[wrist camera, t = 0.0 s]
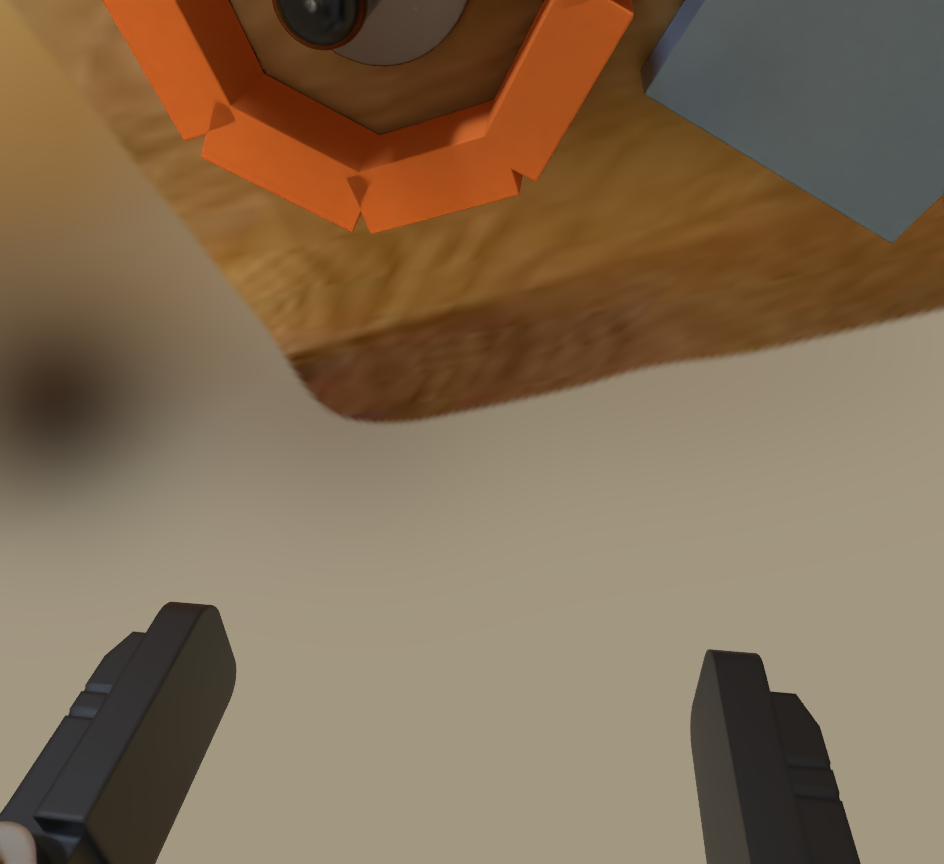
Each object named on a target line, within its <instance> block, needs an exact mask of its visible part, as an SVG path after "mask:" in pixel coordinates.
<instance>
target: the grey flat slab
mask: <svg viewBox="0 0 944 864" xmlns="http://www.w3.org/2000/svg"><path fill="white" fill-rule="evenodd" d="M641 76H642V82H643V89H644V94H645V95H646V96H648V97H650V98H651V99H653V100H655V101H656V102H658V103H660V104H661V105H663V106H665V107H666V108H668V109H670V110H671V111H673V112H675V113H676V114H678V115H680V116H681V117H683V118H685V119H686V120H688V121H689V122H691V123H693V124H694V125H696V126H698V127H699V128H701V129H703V130H704V131H706V132H708V133H709V134H711V135H713V136H714V137H716V138H718V139H719V140H721V141H723V142H724V143H726V144H728V145H729V146H731V147H733V148H734V149H736V150H738V151H739V152H741V153H743V154H744V155H746V156H748V157H749V158H751V159H753V160H754V161H756V162H758V163H759V164H761V165H762V166H764V167H766V168H767V169H769V170H771V171H772V172H774V173H776V174H777V175H779V176H781V177H782V178H784V179H786V180H787V181H789V182H791V183H792V184H794V185H796V186H797V187H799V188H801V189H802V190H804V191H806V192H807V193H809V194H811V195H812V196H814V197H816V198H817V199H819V200H821V201H822V202H824V203H826V204H827V205H829V206H831V207H832V208H834V209H835V210H837V211H839V212H840V213H842V214H844V215H845V216H847V217H849V218H850V219H852V220H854V221H855V222H857V223H859V224H860V225H862V226H864V227H865V228H867V229H869V230H870V231H872V232H874V233H875V234H877V235H879V236H880V237H882V238H884V239H885V240H887V241H889V242H890V243H893V242H894V241H895V240H896V239H897V238H898V237H899V236H900V235H901V234H902V233H903V232H904V231H905V230H906V229H907V228H908V227H909V226H910V225H911V224H912V223H913V222H915V221H916V220H917V219H918V218H919V217H920V216H921V215H922V214H923V213H924V212H925V211H926V210H927V209H928V208H929V207H930V206H931V205H932V204H933V203H934V202H935V201H936V200H937V199H938V198H940V197H941V196H942V195H943V194H944V0H685V1H684V2H683V4H682V6H681V7H680V9H679V10H678V12H677V14H676V15H675V17H674V18H673V20H672V21H671V23H670V25H669V26H668V28H667V29H666V31H665V33H664V34H663V36H662V37H661V39H660V41H659V42H658V44H657V45H656V47H655V49H654V50H653V52H652V53H651V55H650V57H649V58H648V60H647V61H646V63H645V64H644V66H643V68H642V69H641Z"/></svg>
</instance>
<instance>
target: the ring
mask: <svg viewBox="0 0 944 864" xmlns="http://www.w3.org/2000/svg"><path fill="white" fill-rule="evenodd" d="M102 1H103V3H104V4H105V6H106V8H107V9H108V11H109V13H110V15H111V16H112V18H113V20H114V21H115V23H116V25H117V27H118V28H119V30H120V32H121V33H122V35H123V37H124V39H125V40H126V42H127V44H128V45H129V47H130V49H131V51H132V52H133V54H134V56H135V57H136V59H137V61H138V63H139V64H140V66H141V68H142V69H143V71H144V73H145V75H146V76H147V78H148V80H149V81H150V83H151V85H152V87H153V88H154V90H155V92H156V93H157V95H158V97H159V99H160V100H161V102H162V104H163V105H164V107H165V109H166V110H167V112H168V114H169V116H170V117H171V119H172V121H173V122H174V124H175V126H176V128H177V129H178V131H179V133H180V134H181V136H182V138H183V140H184V141H187V140H190V139H193V138H195V137H198V136H201V135H204V134H206V138H205V142H204V147H203V151H202V156H201V157H202V158H204V159H206V160H208V161H210V162H212V163H214V164H216V165H218V166H220V167H222V168H224V169H226V170H228V171H230V172H232V173H234V174H236V175H238V176H240V177H242V178H244V179H246V180H248V181H250V182H252V183H254V184H256V185H258V186H260V187H262V188H264V189H266V190H268V191H270V192H272V193H274V194H276V195H278V196H280V197H282V198H284V199H286V200H288V201H290V202H292V203H294V204H296V205H298V206H300V207H302V208H304V209H306V210H308V211H310V212H312V213H314V214H316V215H318V216H320V217H323V218H325V219H327V220H329V221H331V222H333V223H335V224H337V225H339V226H341V227H343V228H345V229H347V230H349V231H351V232H352V231H353V229H354V227H355V225H356V223H357V221H358V219H359V217H360V215H361V213H362V216H363V218H364V220H365V222H366V224H367V227H368V229H369V231H370V233H371V234H373V233H377V232H381V231H384V230H388V229H392V228H396V227H400V226H403V225H407V224H411V223H415V222H418V221H422V220H426V219H430V218H433V217H437V216H441V215H445V214H448V213H452V212H456V211H460V210H464V209H467V208H471V207H475V206H479V205H482V204H486V203H490V202H494V201H497V200H501V199H505V198H509V197H512V196H516V195H519V192H520V186H521V180H522V175H524V176H525V177H527V178H529V179H531V180H533V181H535V182H536V181H537V180H538V178H539V176H540V175H541V173H542V171H543V170H544V168H545V166H546V165H547V163H548V161H549V159H550V158H551V156H552V154H553V153H554V151H555V149H556V148H557V146H558V144H559V143H560V141H561V139H562V137H563V136H564V134H565V132H566V131H567V129H568V127H569V126H570V124H571V122H572V121H573V119H574V117H575V115H576V114H577V112H578V110H579V109H580V107H581V105H582V104H583V102H584V100H585V99H586V97H587V95H588V93H589V92H590V90H591V88H592V87H593V85H594V83H595V82H596V80H597V78H598V77H599V75H600V73H601V71H602V70H603V68H604V66H605V65H606V63H607V61H608V60H609V58H610V56H611V54H612V53H613V51H614V49H615V48H616V46H617V44H618V43H619V41H620V39H621V38H622V36H623V34H624V32H625V31H626V29H627V27H628V26H629V24H630V22H631V21H632V19H633V17H634V12H633V6H632V0H544V1H543V3H542V5H541V7H540V9H539V11H538V13H537V15H536V17H535V19H534V21H533V23H532V25H531V27H530V29H529V31H528V33H527V35H526V37H525V39H524V41H523V43H522V45H521V47H520V49H519V51H518V53H517V55H516V57H515V59H514V61H513V63H512V65H511V67H510V69H509V71H508V73H507V75H506V77H505V79H504V81H503V83H502V85H501V87H500V89H499V91H498V93H497V95H496V97H495V99H494V100H492V101H489V102H486V103H482V104H479V105H476V106H473V107H469V108H466V109H463V110H460V111H457V112H453V113H450V114H447V115H444V116H440V117H437V118H434V119H431V120H428V121H424V122H421V123H418V124H415V125H411V126H408V127H405V128H402V129H399V130H395V131H392V132H389V133H386V134H383V135H378V134H376V133H374V132H372V131H371V130H369V129H367V128H365V127H363V126H361V125H359V124H357V123H356V122H354V121H352V120H350V119H348V118H346V117H344V116H342V115H341V114H339V113H337V112H335V111H333V110H331V109H329V108H328V107H326V106H324V105H322V104H320V103H318V102H316V101H314V100H313V99H311V98H309V97H307V96H305V95H303V94H301V93H299V92H298V91H296V90H294V89H292V88H290V87H288V86H286V85H284V84H283V83H281V82H279V81H277V80H275V79H273V78H271V77H270V76H268V75H266V74H264V72H263V70H262V68H261V66H260V64H259V62H258V60H257V58H256V56H255V54H254V52H253V50H252V47H251V45H250V43H249V41H248V39H247V37H246V35H245V33H244V31H243V29H242V27H241V25H240V23H239V21H238V19H237V16H236V14H235V12H234V10H233V8H232V6H231V4H230V2H229V0H102Z"/></svg>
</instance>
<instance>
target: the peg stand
mask: <svg viewBox="0 0 944 864" xmlns="http://www.w3.org/2000/svg"><path fill="white" fill-rule="evenodd" d="M468 1H469V0H272V3H273V6H274V10H275V12H276V15H277V17H278V19H279V21H280V22H281V24H282V26H283V27H284V28H285V30H286V31H287V32H288V33H289V34H290V35H291V36H292V37H293V38H294V39H295V40H297V41H298V42H300V43H301V44H303V45H305V46H307V47H310V48H313V49H317V50H332V51H334V52H335V53H337V54H339V55H341V56H343V57H345V58H347V59H349V60H352V61H355V62H358V63H361V64H367V65H372V66H393V65H400V64H404V63H408V62H411V61H413V60H416V59H418V58H420V57H422V56H424V55H426V54H427V53H429V52H430V51H432V50H433V49H434V48H436V47H437V46H438V45H439V44H440V43H442V42H443V40H444V39H445V38H446V37H447V36H448V35H449V34H450V33H451V31H452V30H453V28H454V27H455V25H456V24H457V23H458V21H459V19H460V17H461V15H462V13H463V11H464V9H465V7H466V5H467V3H468Z"/></svg>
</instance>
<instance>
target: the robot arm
mask: <svg viewBox="0 0 944 864" xmlns="http://www.w3.org/2000/svg"><path fill="white" fill-rule="evenodd" d="M235 680H236V663H235V658H234V656H233V652H232V650H231V646H230V644H229V640H228V637H227V634H226V631H225V629H224V625H223V622H222V619H221V616H220V613H219V611H218V609H217V608H216V607H215V606H213V605H203V604H192V603H191V604H190V603H180V602H169V603H167V604H166V605H164V606H163V607H162V609H161V610H160V611H159V613H158V614H157V616H156V617H155V619H154V621H153V623H152V624H151V625H150V627H149V629H148V630H147V632H146V633H141V632H132V633H131V634H130V635H129V636H127V637H126V638H125V639H124V640H123V641H122V642H121V643H119V644H118V645H117V646H116V647H115V648H114V649H112V650H111V651H110V652H109V653H108V654H107V655H105V656H104V658H103V659H102V661H101V663H100V664H99V665H98V667H97V668H96V670H95V671H94V673H93V674H92V676H91V677H90V679H89V681H88V682H87V684H86V685H85V686H86V688H85V690H84V691H81V693H80V694H79V696H78V697H77V699H76V700H75V702H74V703H73V705H72V706H71V708H70V713H69V715H68V716H65V717H64V719H63V720H62V722H61V724H60V725H59V726H58V728H57V729H56V731H55V732H54V734H53V735H52V737H51V738H50V740H49V741H48V743H47V744H46V746H45V747H44V749H43V750H42V752H41V753H40V755H39V757H38V758H37V760H36V761H35V763H34V764H33V766H32V767H31V769H30V770H29V772H28V773H27V775H26V776H25V778H24V779H23V781H22V782H21V784H20V786H19V787H18V788H17V790H16V792H15V793H14V794H13V796H12V797H11V799H10V801H9V802H8V804H7V805H6V806H5V808H4V809H3V811H2V812H1V813H0V864H155V863H156V860H157V858H158V856H159V854H160V852H161V849H162V847H163V845H164V843H165V841H166V839H167V836H168V834H169V832H170V830H171V828H172V825H173V823H174V821H175V819H176V817H177V815H178V812H179V810H180V808H181V806H182V804H183V802H184V799H185V797H186V795H187V793H188V791H189V788H190V786H191V784H192V782H193V780H194V778H195V775H196V773H197V771H198V769H199V767H200V764H201V762H202V760H203V758H204V756H205V753H206V751H207V749H208V747H209V745H210V743H211V740H212V738H213V736H214V734H215V731H216V729H217V727H218V725H219V723H220V721H221V718H222V716H223V714H224V712H225V710H226V708H227V705H228V703H229V701H230V699H231V696H232V693H233V689H234V685H235ZM690 728H691V747H692V755H693V762H694V770H695V778H696V785H697V792H698V800H699V807H700V815H701V822H702V830H703V838H704V845H705V853H706V859H707V864H860V860H859V857H858V854H857V850H856V847H855V844H854V840H853V837H852V834H851V830H850V827H849V824H848V820H847V817H846V813H845V810H844V807H843V803H842V801H840V799H839V790H838V787H837V784H836V780H835V776H834V773H833V770H831V768H830V760H829V756H828V753H827V749H826V747H825V743H824V739H823V736H822V733H821V729H820V726H819V725H818V724H817V722H816V721H815V720H814V718H813V717H812V715H811V714H810V713H809V711H808V710H807V709H806V707H805V706H804V705H803V703H802V702H801V700H800V699H799V698H798V696H797V695H796V694H791V693H780V692H770V689H769V685H768V681H767V677H766V673H765V669H764V665H763V662H762V659H761V657H760V656H759V655H758V654H756V653H745V652H732V651H721V650H707V652H706V654H705V657H704V661H703V665H702V669H701V673H700V677H699V681H698V685H697V689H696V693H695V697H694V701H693V705H692V711H691V727H690Z"/></svg>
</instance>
